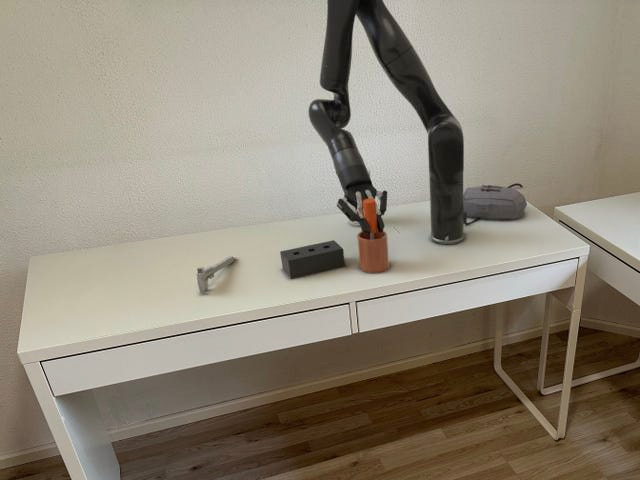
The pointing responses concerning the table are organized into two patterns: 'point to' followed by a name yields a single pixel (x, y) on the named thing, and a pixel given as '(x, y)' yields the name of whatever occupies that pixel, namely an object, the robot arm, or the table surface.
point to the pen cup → (373, 252)
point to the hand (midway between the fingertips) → (375, 232)
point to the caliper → (210, 273)
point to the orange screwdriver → (370, 215)
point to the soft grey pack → (493, 202)
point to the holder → (312, 259)
